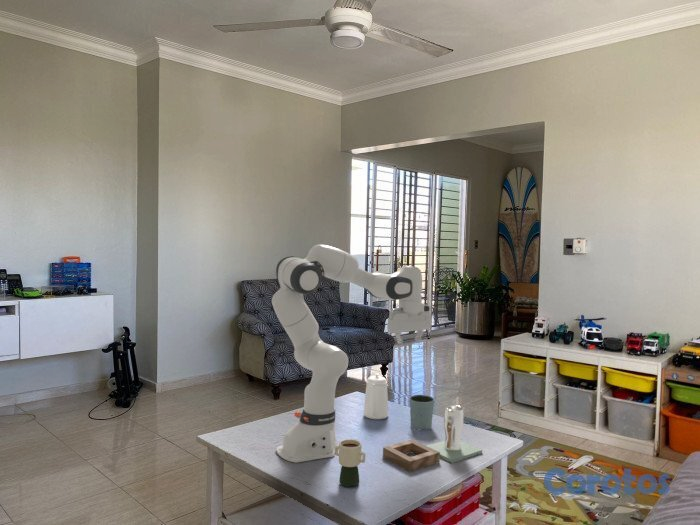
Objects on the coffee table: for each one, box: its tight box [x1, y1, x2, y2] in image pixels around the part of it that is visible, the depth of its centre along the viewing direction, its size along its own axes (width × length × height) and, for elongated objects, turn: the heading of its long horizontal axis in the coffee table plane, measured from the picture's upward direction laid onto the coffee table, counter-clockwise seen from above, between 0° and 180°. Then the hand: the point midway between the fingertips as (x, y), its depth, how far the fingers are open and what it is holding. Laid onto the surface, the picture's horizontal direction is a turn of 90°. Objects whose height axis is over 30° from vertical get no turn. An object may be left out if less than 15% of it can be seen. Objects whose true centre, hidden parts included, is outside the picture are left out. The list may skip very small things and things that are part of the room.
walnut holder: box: [382, 438, 441, 473], centre depth 184 cm, size 14×14×4 cm
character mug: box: [334, 438, 366, 487], centre depth 165 cm, size 11×7×13 cm, turn 59°
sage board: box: [426, 439, 483, 464], centre depth 193 cm, size 16×14×1 cm
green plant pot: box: [409, 394, 435, 431], centre depth 217 cm, size 10×10×12 cm
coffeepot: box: [363, 372, 389, 420], centre depth 228 cm, size 11×25×19 cm, turn 168°
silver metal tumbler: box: [443, 404, 464, 451], centre depth 192 cm, size 7×7×15 cm
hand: (408, 342), depth 205 cm, fingers open, 8 cm apart
